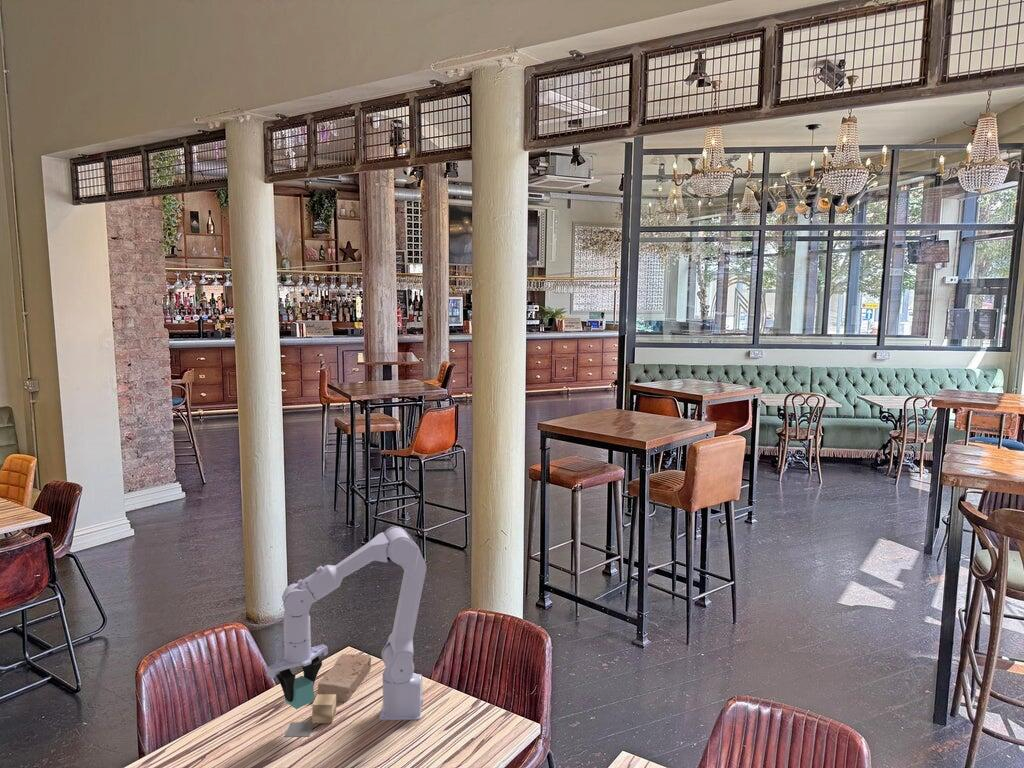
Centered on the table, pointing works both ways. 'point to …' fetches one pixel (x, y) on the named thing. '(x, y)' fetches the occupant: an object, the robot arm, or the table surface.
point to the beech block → (324, 708)
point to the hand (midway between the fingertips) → (299, 695)
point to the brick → (345, 676)
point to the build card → (299, 729)
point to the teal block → (302, 692)
